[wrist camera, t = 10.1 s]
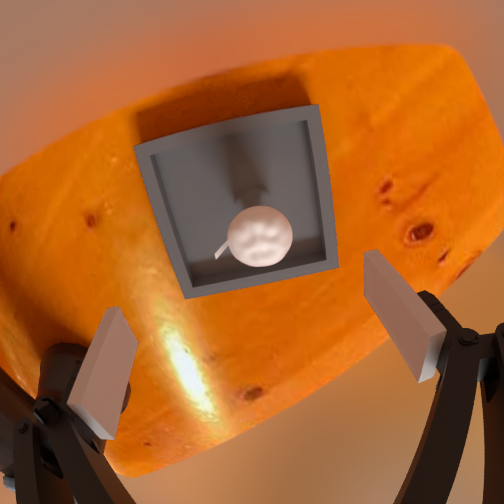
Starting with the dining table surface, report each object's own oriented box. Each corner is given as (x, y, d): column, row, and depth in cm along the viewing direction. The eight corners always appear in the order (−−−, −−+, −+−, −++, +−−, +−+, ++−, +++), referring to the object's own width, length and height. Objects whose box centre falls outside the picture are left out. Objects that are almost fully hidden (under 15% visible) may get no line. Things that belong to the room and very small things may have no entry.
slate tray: (187, 286, 34) (185, 299, 31) (141, 143, 26) (133, 146, 24) (332, 256, 33) (338, 267, 31) (311, 104, 26) (318, 104, 23)
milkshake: (216, 183, 28) (208, 224, 19) (275, 175, 28) (295, 212, 19) (224, 228, 30) (220, 286, 21) (279, 221, 30) (299, 275, 21)
